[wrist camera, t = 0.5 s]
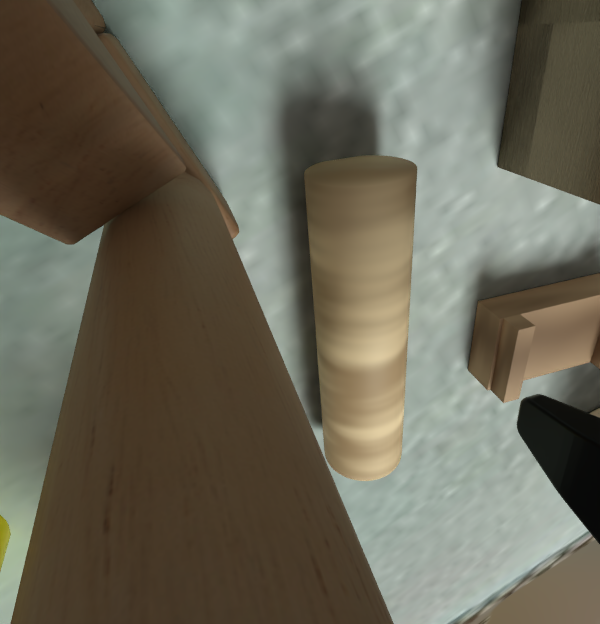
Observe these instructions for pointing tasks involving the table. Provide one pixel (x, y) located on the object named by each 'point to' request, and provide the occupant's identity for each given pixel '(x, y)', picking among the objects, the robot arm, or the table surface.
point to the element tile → (3, 538)
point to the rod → (361, 305)
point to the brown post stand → (159, 369)
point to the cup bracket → (555, 97)
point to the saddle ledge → (535, 334)
